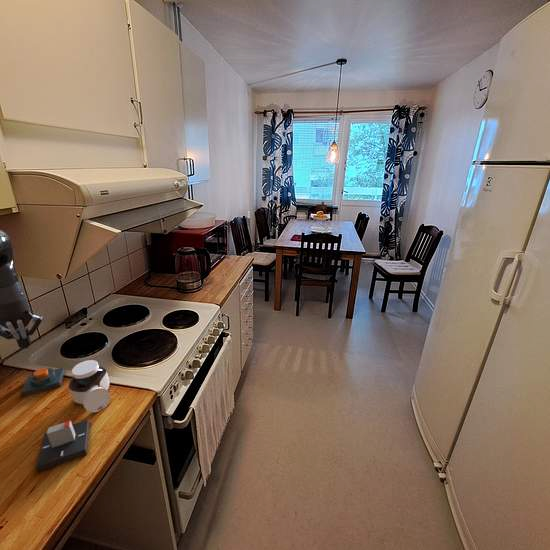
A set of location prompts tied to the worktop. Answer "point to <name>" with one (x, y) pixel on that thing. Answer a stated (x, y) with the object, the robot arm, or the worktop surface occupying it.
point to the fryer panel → (64, 448)
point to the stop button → (41, 373)
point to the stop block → (43, 382)
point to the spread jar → (90, 385)
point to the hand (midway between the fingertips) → (26, 347)
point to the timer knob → (61, 434)
